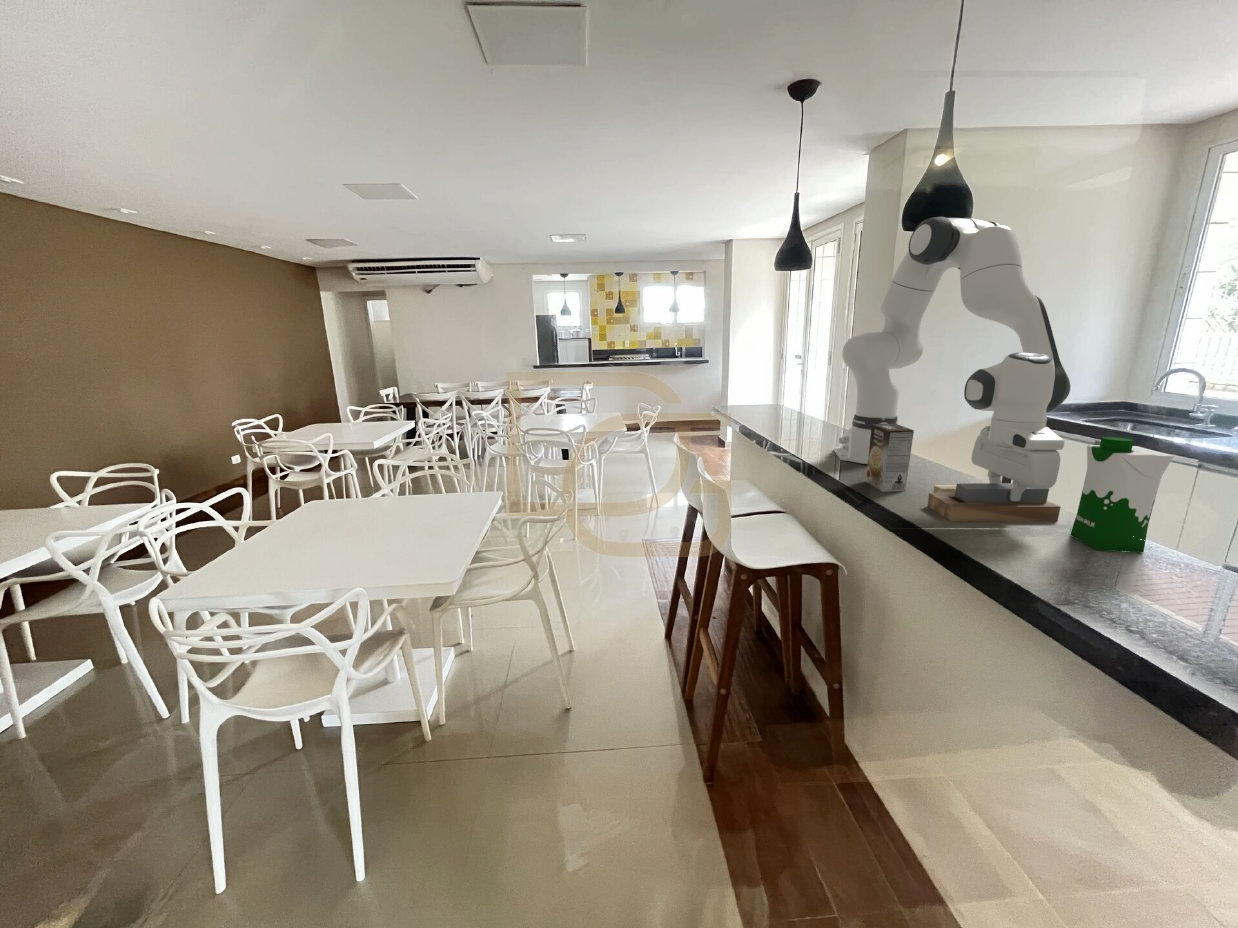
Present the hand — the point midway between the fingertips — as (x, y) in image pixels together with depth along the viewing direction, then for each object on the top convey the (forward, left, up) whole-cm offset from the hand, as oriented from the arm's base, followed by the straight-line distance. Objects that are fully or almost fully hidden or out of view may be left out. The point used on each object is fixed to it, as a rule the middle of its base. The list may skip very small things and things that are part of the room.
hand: (1004, 495), depth 103 cm
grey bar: (0, -1, -3) cm, 3 cm away
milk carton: (+15, +9, -4) cm, 18 cm away
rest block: (-12, -3, -4) cm, 13 cm away
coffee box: (-20, -15, -4) cm, 26 cm away
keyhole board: (0, -2, -4) cm, 5 cm away
